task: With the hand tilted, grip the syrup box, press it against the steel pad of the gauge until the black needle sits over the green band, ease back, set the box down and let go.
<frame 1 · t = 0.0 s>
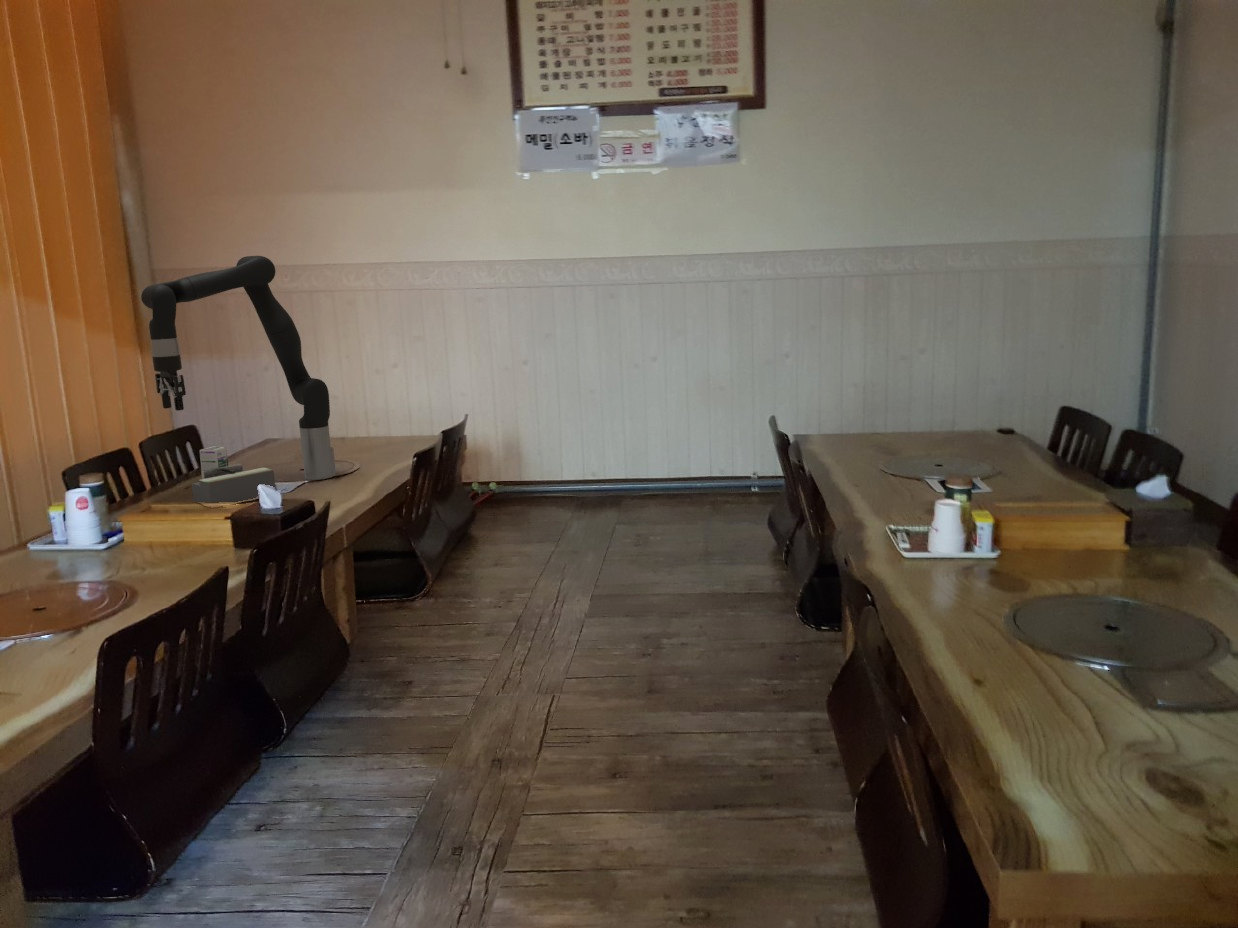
hand: (173, 409, 293), 28 cm above the table, tool pointing down, fingers open, 8 cm apart
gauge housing: (231, 498, 297), on the table
syrup box: (217, 494, 304), on the table
gauge pad: (228, 481, 297), point 5 cm above the table, slide at 0.0 cm
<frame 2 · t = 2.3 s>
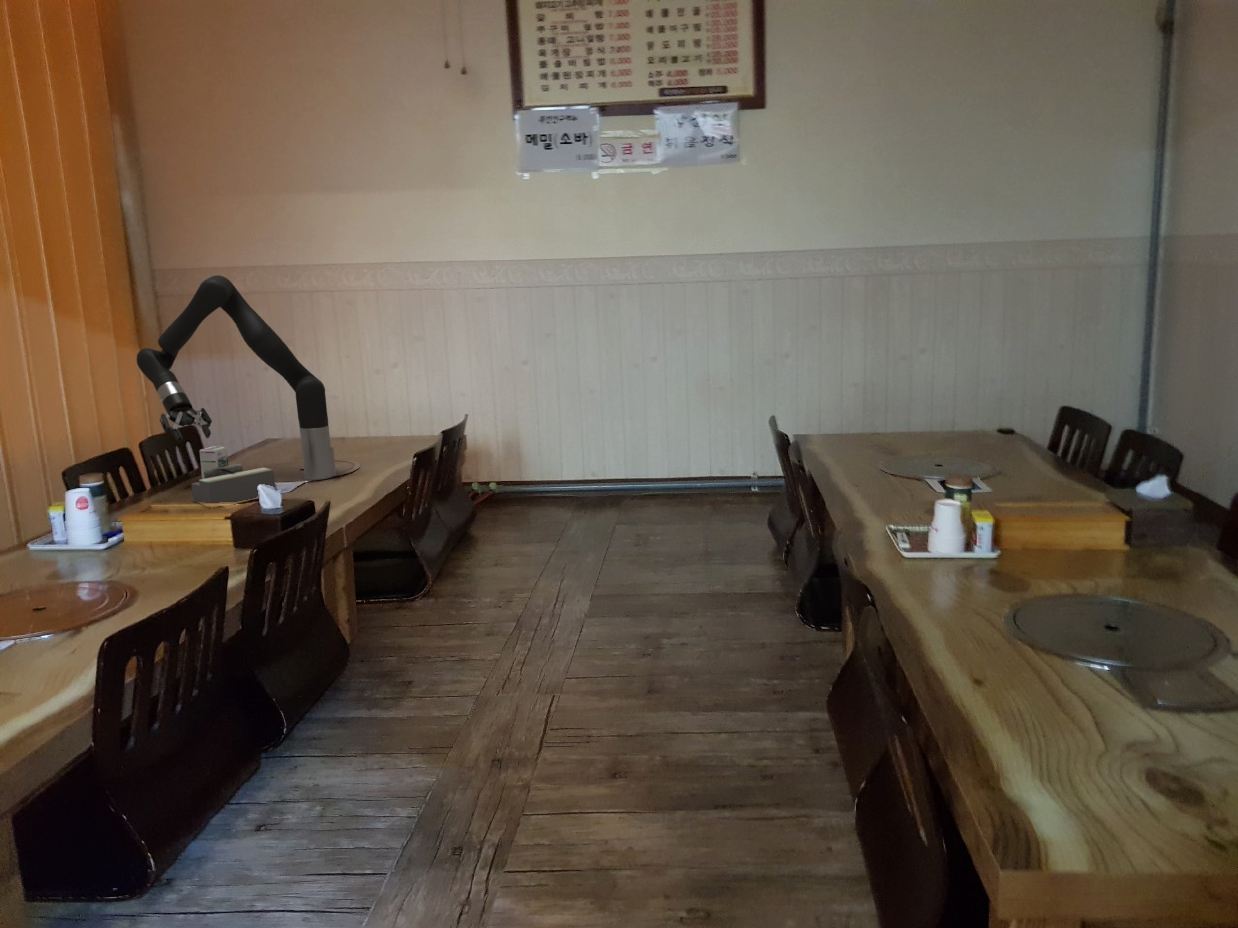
hand: (195, 438, 307), 16 cm above the table, tool tilted 45°, fingers open, 8 cm apart
nothing on the table moved.
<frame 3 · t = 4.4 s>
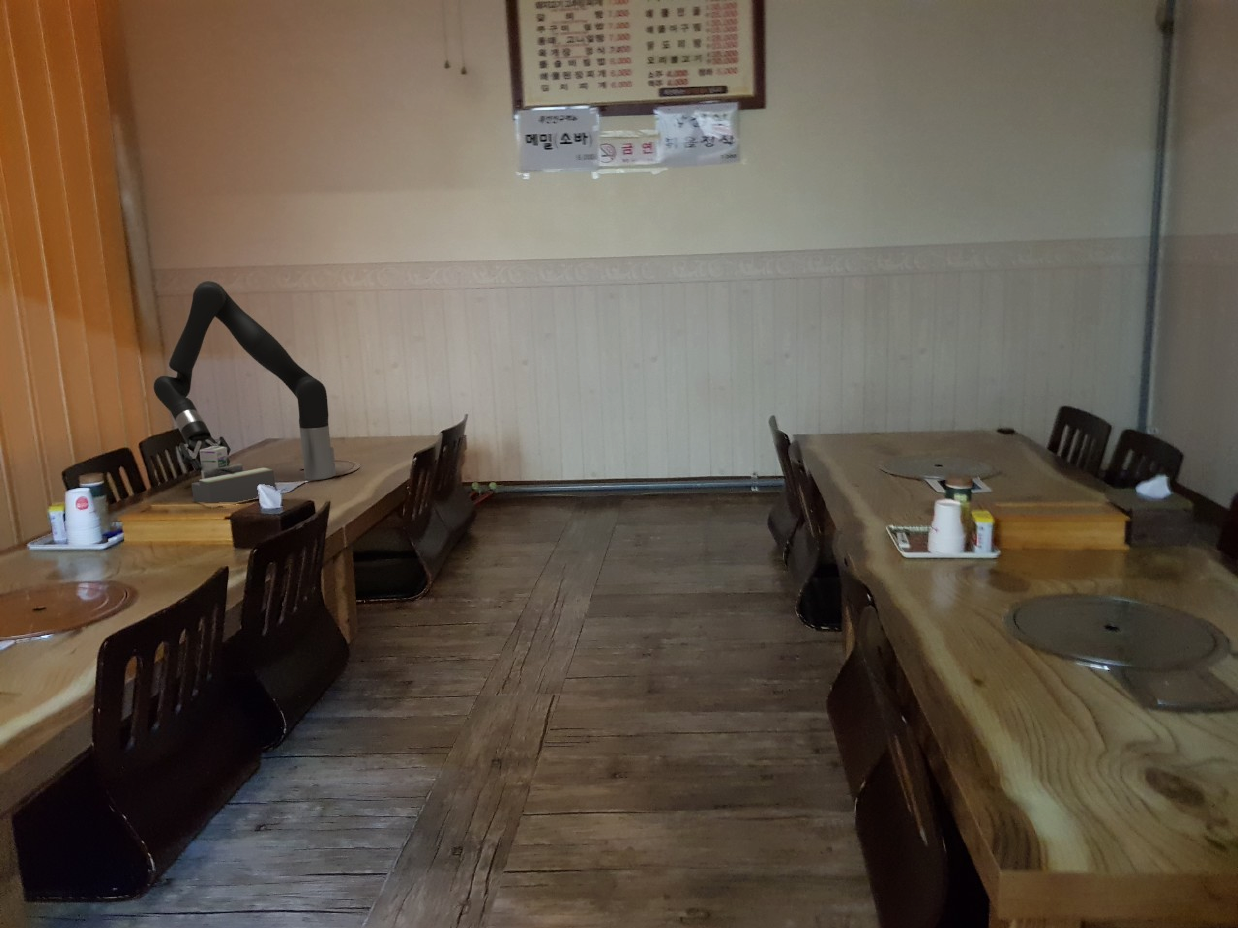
hand: (214, 468, 302), 8 cm above the table, tool tilted 45°, fingers open, 8 cm apart
syrup box: (217, 494, 304), on the table, touching gripper
everything else where it was.
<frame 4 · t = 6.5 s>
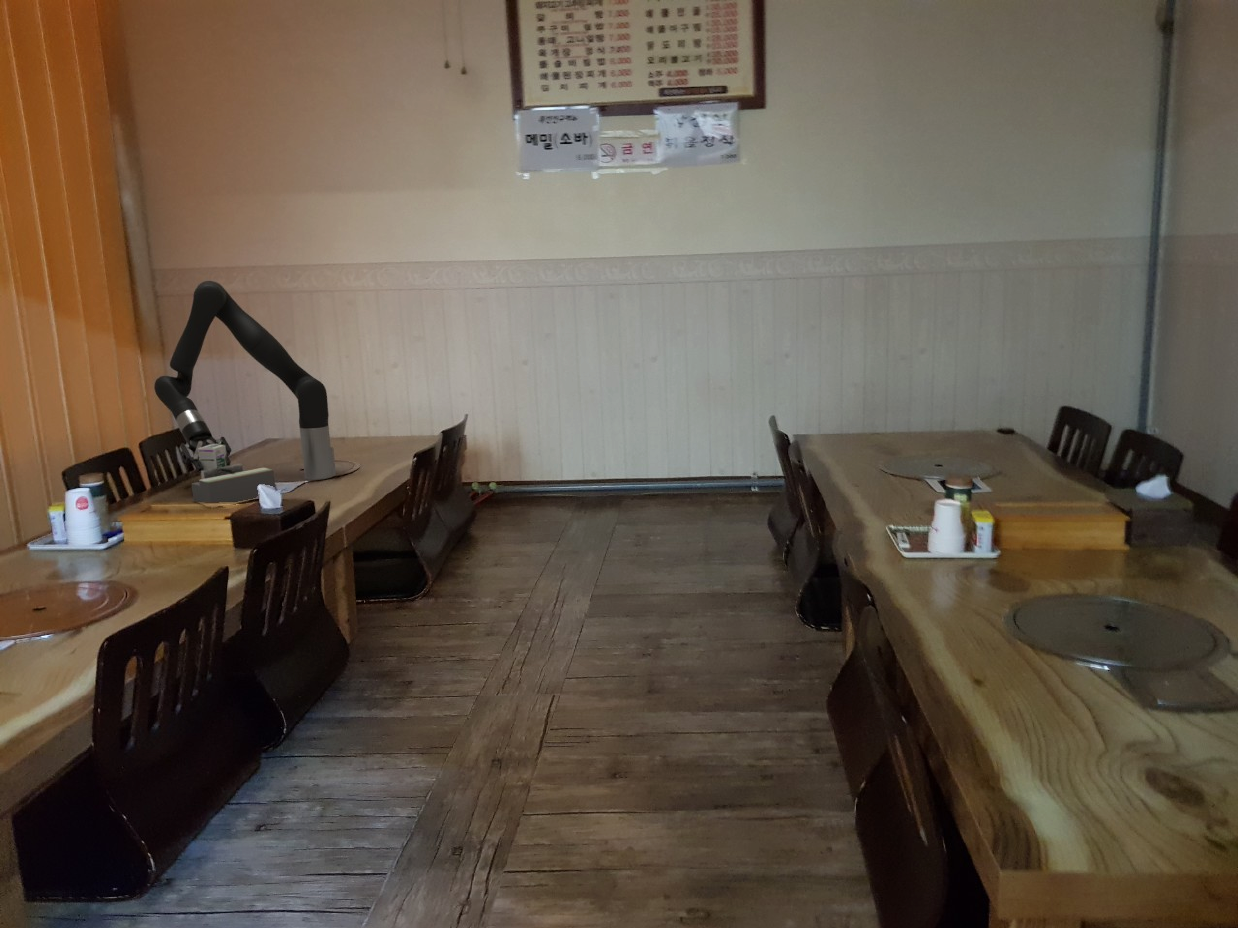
hand: (215, 468, 301), 8 cm above the table, tool tilted 45°, fingers closed on syrup box, 8 cm apart
syrup box: (216, 492, 304), on the table, touching gripper
everything else where it was.
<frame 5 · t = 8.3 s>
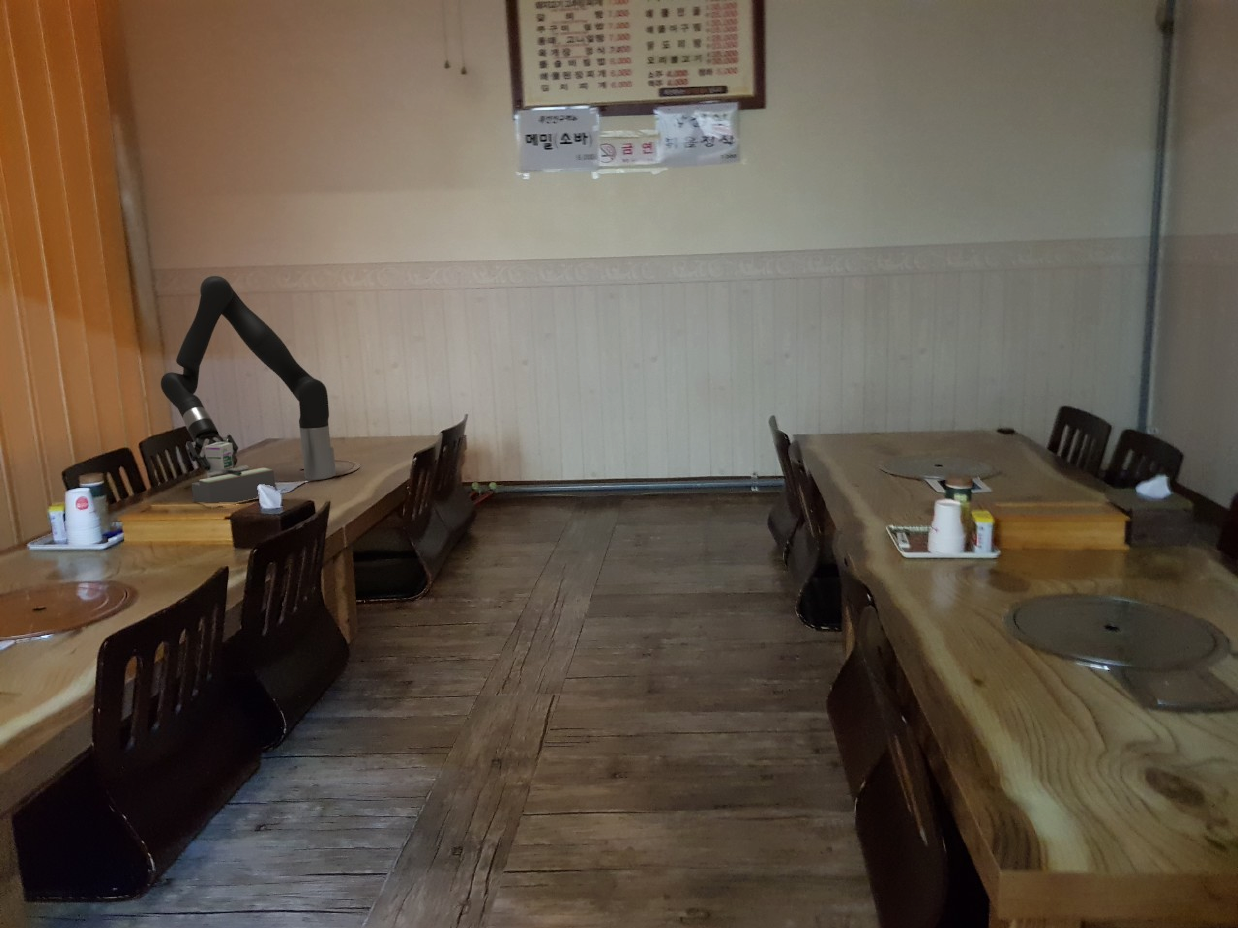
hand: (222, 466, 298), 9 cm above the table, tool tilted 45°, fingers closed on syrup box, 8 cm apart
syrup box: (222, 491, 300), point 2 cm above the table, touching gauge pad, gripper
gauge pad: (234, 483, 294), point 5 cm above the table, slide at 3.7 cm, touching syrup box
when the fingers open (8 cm above the table, at t = 10.6 s): syrup box stays where it is, on the table.
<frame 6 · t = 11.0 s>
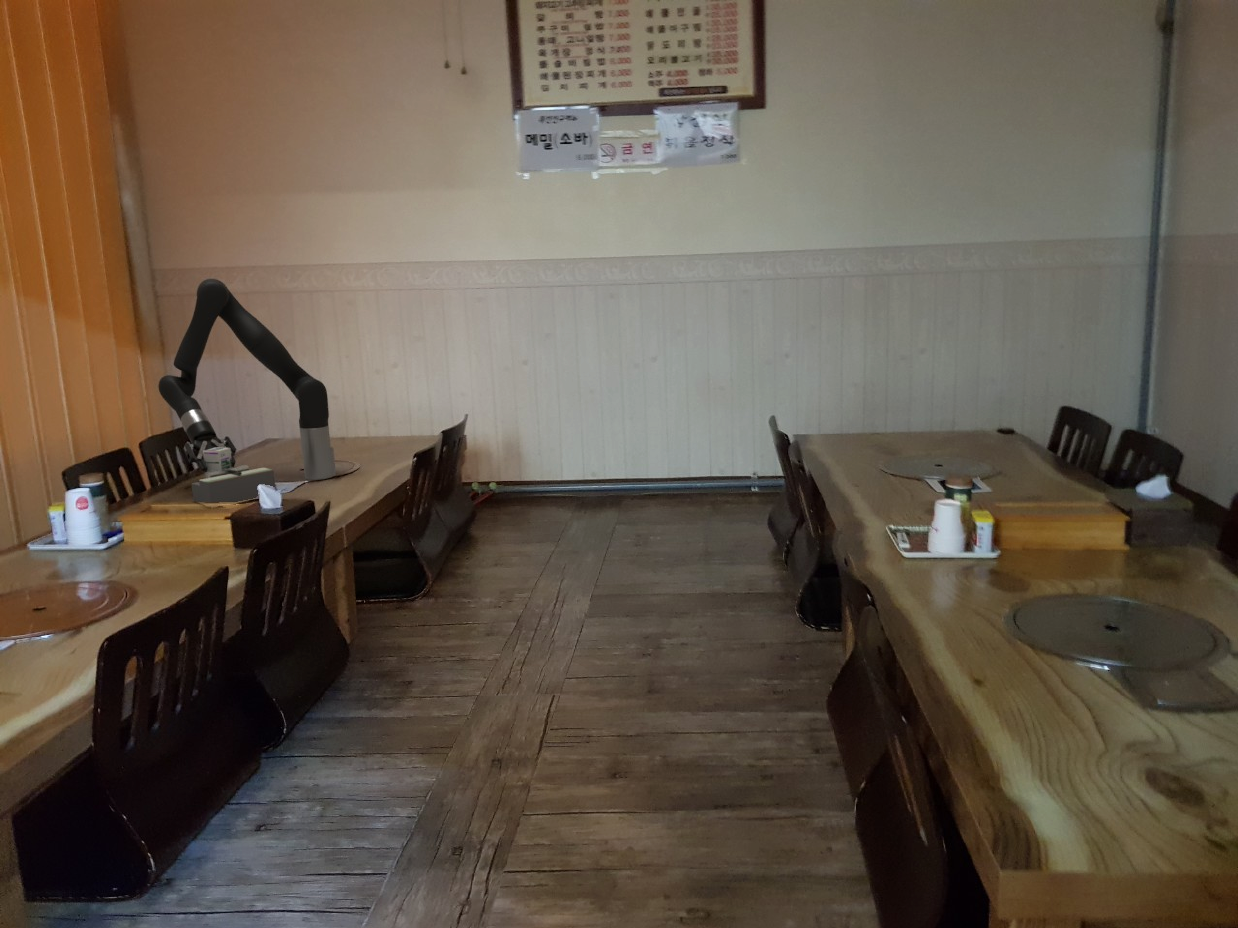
hand: (219, 468, 299), 9 cm above the table, tool tilted 45°, fingers open, 8 cm apart
syrup box: (221, 496, 302), on the table, touching gripper
gauge pad: (234, 483, 294), point 5 cm above the table, slide at 3.8 cm
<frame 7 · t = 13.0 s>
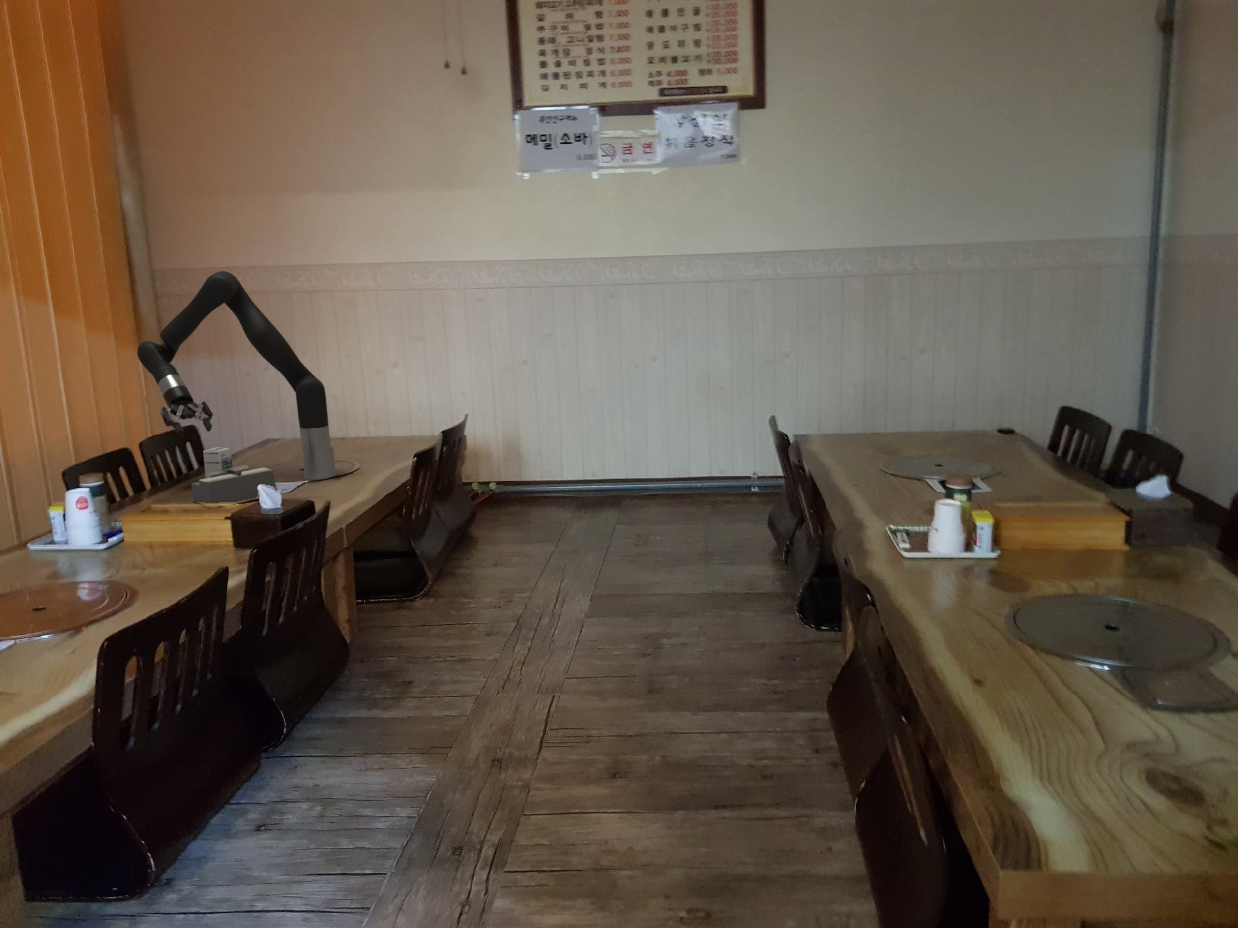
hand: (196, 431, 306), 19 cm above the table, tool tilted 45°, fingers open, 8 cm apart
syrup box: (221, 496, 302), on the table
everything else where it was.
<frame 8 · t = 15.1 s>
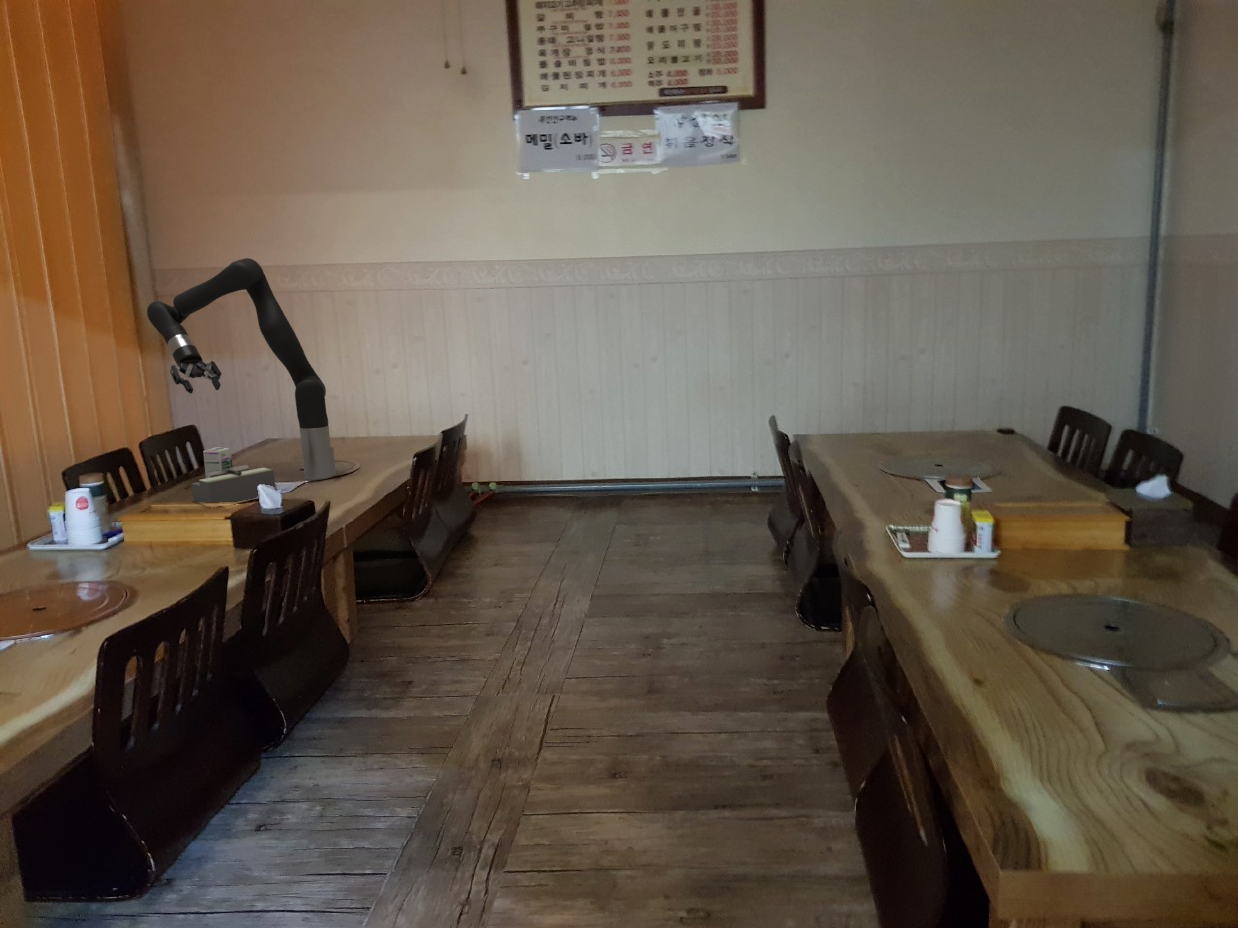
hand: (205, 390, 310), 31 cm above the table, tool tilted 45°, fingers open, 8 cm apart
nothing on the table moved.
at the end: gauge pad slide at 3.8 cm; syrup box tilted 2°; the gripper is holding nothing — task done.
